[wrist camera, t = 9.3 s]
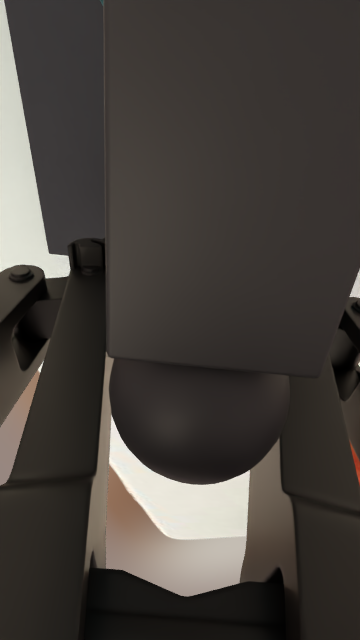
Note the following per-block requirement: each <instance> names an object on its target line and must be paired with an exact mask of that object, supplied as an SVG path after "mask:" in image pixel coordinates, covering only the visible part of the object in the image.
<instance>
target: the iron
mask: <svg viewBox="0 0 360 640" xmlns="http://www.w3.org/2000/svg"><path fill="white" fill-rule="evenodd" d="M100 1H101V3H102V5H103V22H104V139H105V257H106V352H107V355H108V357H110V358H112V359H114V361H113V364H112V369H111V374H110V381H109V398H110V406H111V414H112V417H113V420H114V422H115V425H116V427H117V430H118V432H119V434H120V436H121V438H122V440H123V441H124V443H125V444H126V446H127V447H128V449H129V450H130V451H131V452H132V453H133V454H134V455H135V456H136V457H137V458H138V459H139V460H140V461H141V462H142V463H143V464H144V465H145V466H147V467H148V468H149V469H151V470H152V471H154V472H156V473H158V474H160V475H162V476H164V477H166V478H169V479H172V480H175V481H178V482H182V483H187V484H198V485H206V484H215V483H219V482H223V481H227V480H229V479H232V478H234V477H236V476H239V475H241V474H243V473H245V472H247V471H248V470H250V469H252V468H253V467H254V466H256V465H257V464H258V463H259V462H260V461H261V460H262V459H263V458H264V457H265V456H266V455H267V454H268V452H269V451H270V450H271V449H272V447H273V446H274V445H275V443H276V442H277V441H278V438H279V436H280V434H281V432H282V430H283V427H284V424H285V422H286V419H287V415H288V410H289V405H290V383H289V376H296V377H306V378H319V376H320V375H321V373H322V371H323V368H324V365H325V362H326V360H327V357H328V354H329V351H330V349H331V346H332V343H333V340H334V338H335V335H336V332H337V329H338V327H339V324H340V321H341V318H342V316H343V313H344V310H345V307H346V305H347V302H348V299H349V296H350V294H351V291H352V288H353V285H354V282H355V280H356V277H357V274H358V271H359V269H360V0H100Z"/></svg>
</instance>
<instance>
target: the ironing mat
mask: <svg viewBox="0 0 360 640" xmlns="http://www.w3.org/2000/svg"><path fill="white" fill-rule="evenodd" d="M4 2H5V7H6V13H7V19H8V24H9V30H10V35H11V41H12V47H13V52H14V58H15V64H16V69H17V75H18V81H19V86H20V92H21V98H22V103H23V109H24V115H25V120H26V126H27V132H28V137H29V143H30V149H31V154H32V160H33V166H34V171H35V177H36V183H37V188H38V194H39V200H40V205H41V211H42V216H43V222H44V228H45V233H46V239H47V245H48V250H49V253H50V254H58V255H68V247H67V246H68V245H69V243H70V242H73V241H75V240H78V239H82V238H96V239H101V240H102V239H103V238H105V139H104V22H103V5H102V3H101V1H100V0H4ZM68 256H69V255H68Z"/></svg>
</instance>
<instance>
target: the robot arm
mask: <svg viewBox="0 0 360 640" xmlns="http://www.w3.org/2000/svg"><path fill="white" fill-rule="evenodd" d="M67 247H68V255H69V262H70V269H71V270H70V274H69V276H67V277H61V278H48V279H45V274H44V271H43V270H42V269H41V268H39V267H36V266H32V265H20V266H19V265H16V266H13V267H11V268H7V269H5V270H4V271H2V272H0V427H1V425H2V424H3V422H4V421H5V419H6V417H7V416H8V414H9V413H10V411H11V410H12V408H13V407H14V405H15V403H16V402H17V401H18V399H19V397H20V396H21V394H22V393H23V391H24V390H25V388H26V387H27V385H28V383H29V382H30V381H31V379H32V377H33V376H34V374H35V373H36V371H37V370H38V368H39V367H40V365H41V364H42V362H43V361H44V363H43V366H42V369H41V373H40V376H39V380H38V383H37V387H36V390H35V393H34V397H33V400H32V404H31V407H30V410H29V414H28V418H27V421H26V424H25V428H24V431H23V434H22V438H21V441H20V445H19V448H18V451H17V455H16V459H15V462H14V465H13V469H12V472H11V474H10V477H9V479H8V480H7V482H6V483H5V484H3V485H1V486H0V640H360V485H359V480H358V476H357V472H356V467H355V463H354V459H353V454H352V450H351V446H350V443H351V445H352V447H353V449H354V451H355V453H356V455H357V457H358V459H359V461H360V367H359V365H358V363H359V362H360V298H356V297H349V299H348V302H347V305H346V307H345V310H344V313H343V316H342V318H341V321H340V324H339V327H338V329H337V332H336V335H335V338H334V340H333V343H332V346H331V349H330V351H329V354H328V357H327V360H326V362H325V365H324V368H323V371H322V373H321V375H320V376H319V378H306V377H296V376H289V383H290V405H289V410H288V415H287V419H286V422H285V424H284V427H283V430H282V432H281V434H280V436H279V438H278V441H277V442H276V443H275V445H274V446H273V447H272V449H271V450H270V451H269V452H268V454H267V455H266V456H265V457H264V458H263V459H262V460H261V461H260V462H259V463H258V464H257V465H256V466H254V467H253V468H252V469H250V482H249V502H248V522H247V541H246V551H245V556H244V560H243V565H242V570H241V577H240V583H239V584H236V585H232V586H228V587H224V588H221V589H217V590H213V591H209V592H206V593H202V594H198V595H194V596H189V597H184V596H180V595H178V594H175V593H173V592H171V591H168V590H166V589H164V588H162V587H159V586H157V585H155V584H153V583H150V582H148V581H146V580H143V579H141V578H139V577H137V576H134V575H132V574H130V573H128V572H125V571H123V570H115V569H106V544H105V543H106V542H105V540H106V538H105V537H106V513H107V493H108V472H109V451H110V430H111V406H110V398H109V381H110V374H111V369H112V364H113V361H114V359H112V358H110V357H108V355H107V352H106V257H105V238H103V239H102V240H101V239H96V238H82V239H78V240H75V241H73V242H70V243H69V245H68V246H67Z"/></svg>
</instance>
